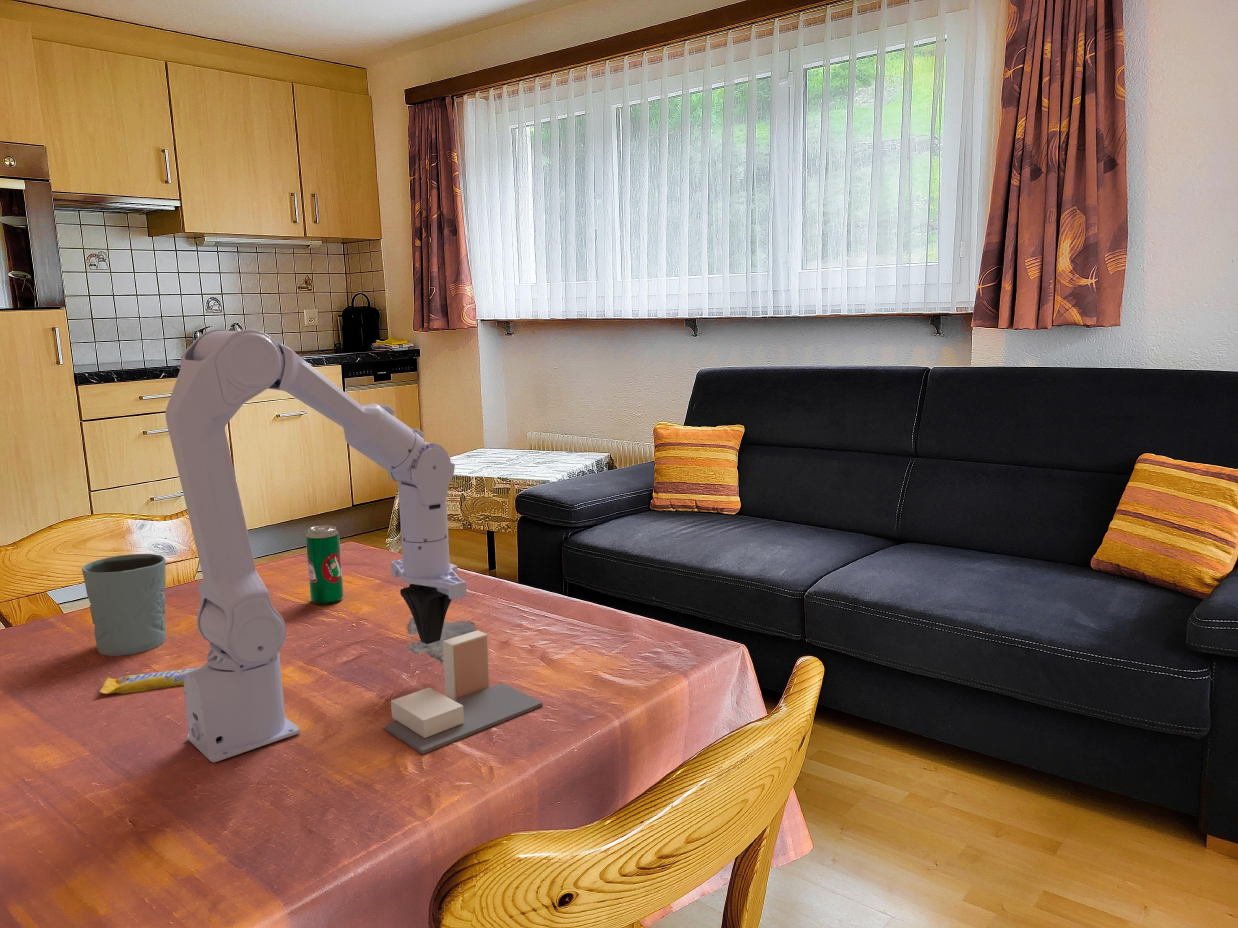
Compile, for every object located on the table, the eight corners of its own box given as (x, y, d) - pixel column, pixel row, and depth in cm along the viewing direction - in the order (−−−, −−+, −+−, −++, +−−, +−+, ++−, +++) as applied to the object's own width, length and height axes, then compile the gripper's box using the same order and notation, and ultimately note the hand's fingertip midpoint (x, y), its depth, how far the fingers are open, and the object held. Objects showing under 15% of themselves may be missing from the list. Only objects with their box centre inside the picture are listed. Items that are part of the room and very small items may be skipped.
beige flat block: (391, 718, 100) (424, 739, 95) (390, 700, 99) (423, 720, 94) (430, 704, 103) (464, 723, 98) (429, 687, 103) (463, 705, 98)
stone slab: (405, 616, 132) (473, 607, 133) (407, 628, 132) (474, 618, 134) (400, 667, 114) (478, 655, 116) (402, 680, 115) (480, 668, 116)
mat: (422, 753, 92) (422, 750, 92) (384, 728, 98) (384, 725, 98) (542, 705, 103) (542, 702, 103) (501, 685, 109) (501, 682, 109)
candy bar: (251, 668, 117) (249, 655, 117) (249, 680, 113) (247, 667, 113) (107, 687, 112) (105, 674, 111) (100, 701, 108) (98, 687, 107)
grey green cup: (75, 654, 122) (64, 570, 120) (131, 629, 131) (122, 550, 129) (137, 660, 119) (126, 574, 117) (189, 633, 129) (181, 554, 127)
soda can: (311, 597, 144) (305, 526, 142) (343, 594, 146) (338, 523, 144) (310, 607, 140) (304, 533, 138) (343, 603, 141) (338, 530, 139)
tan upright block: (455, 701, 105) (452, 645, 103) (445, 696, 106) (442, 640, 105) (490, 688, 108) (487, 634, 107) (480, 683, 110) (477, 630, 108)
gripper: (485, 540, 107) (490, 647, 110) (422, 522, 118) (427, 619, 120) (435, 552, 102) (441, 663, 105) (373, 531, 113) (380, 632, 115)
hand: (430, 640), depth 112 cm, fingers closed
